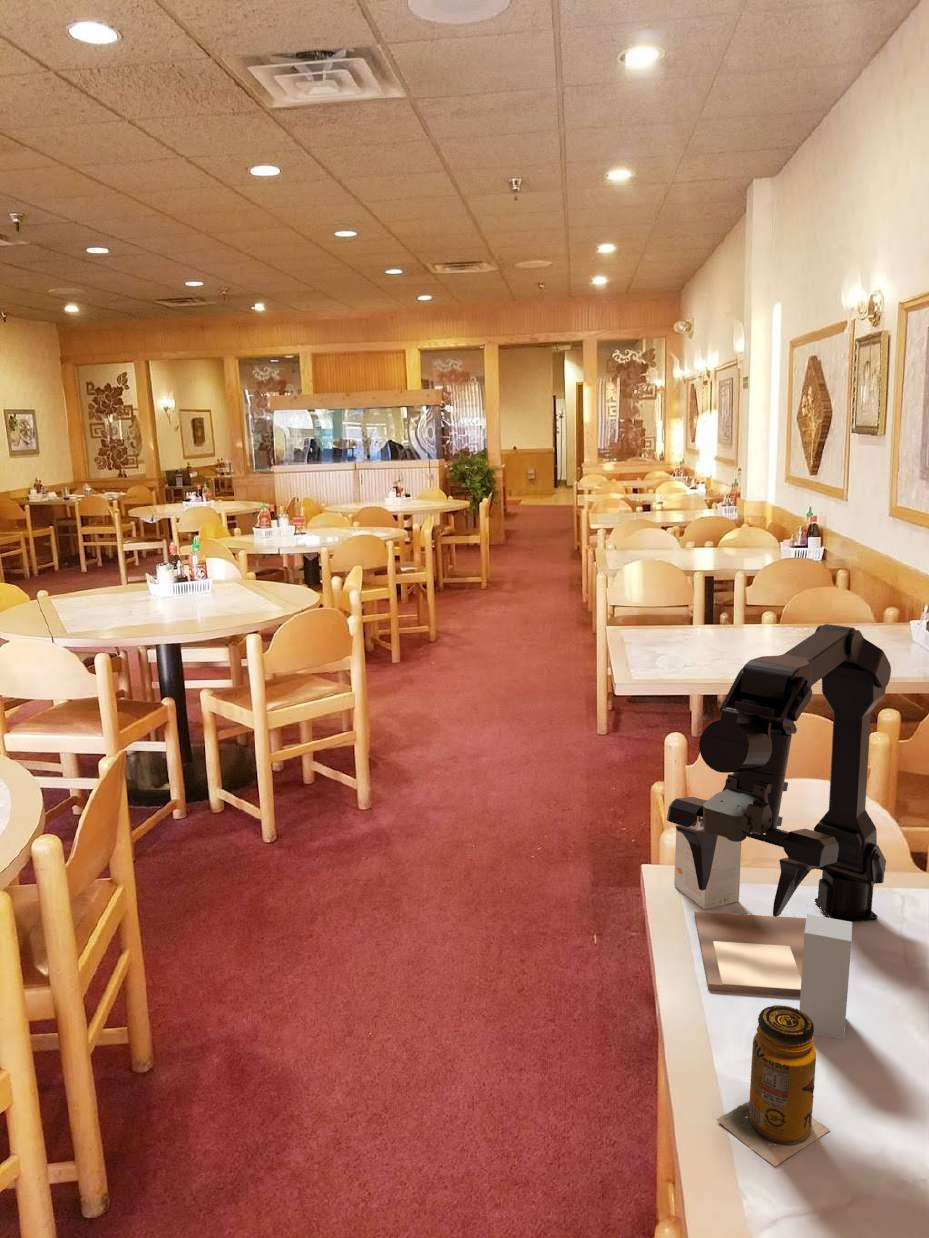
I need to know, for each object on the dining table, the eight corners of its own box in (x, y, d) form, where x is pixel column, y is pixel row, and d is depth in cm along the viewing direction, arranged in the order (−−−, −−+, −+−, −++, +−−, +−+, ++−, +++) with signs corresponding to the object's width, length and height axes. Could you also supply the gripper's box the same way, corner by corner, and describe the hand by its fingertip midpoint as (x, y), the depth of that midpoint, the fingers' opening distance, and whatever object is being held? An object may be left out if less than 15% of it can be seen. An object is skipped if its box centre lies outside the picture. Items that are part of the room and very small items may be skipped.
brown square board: (694, 916, 135) (694, 911, 135) (809, 923, 133) (810, 917, 132) (708, 989, 118) (708, 983, 117) (841, 998, 115) (841, 992, 115)
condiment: (830, 1130, 94) (837, 1024, 91) (774, 1168, 89) (781, 1057, 87) (770, 1089, 100) (776, 988, 97) (716, 1122, 95) (720, 1017, 93)
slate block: (800, 1007, 114) (806, 913, 111) (845, 1017, 112) (852, 921, 109) (798, 1029, 110) (804, 932, 107) (844, 1039, 108) (851, 941, 105)
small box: (739, 902, 139) (743, 820, 136) (704, 910, 137) (707, 827, 134) (707, 878, 146) (710, 800, 144) (672, 886, 144) (675, 806, 142)
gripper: (653, 753, 108) (632, 885, 108) (811, 793, 96) (787, 942, 96) (699, 751, 116) (679, 874, 117) (850, 788, 104) (827, 926, 104)
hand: (738, 902), depth 108 cm, fingers open, 9 cm apart
